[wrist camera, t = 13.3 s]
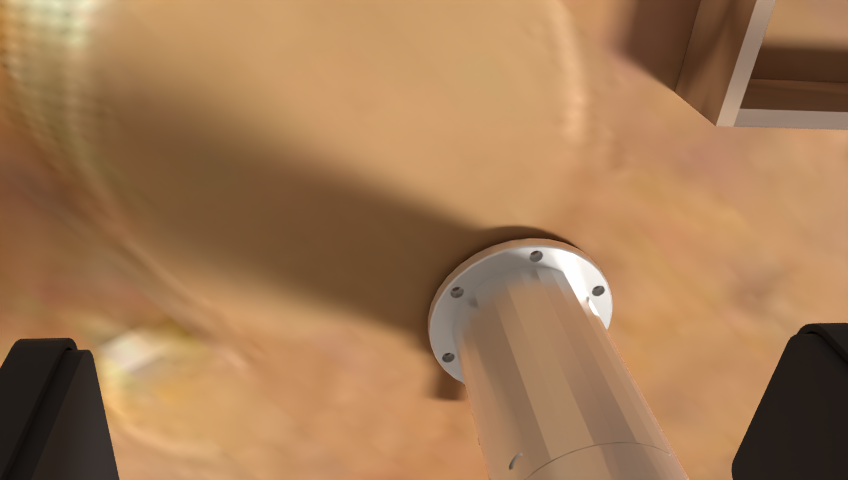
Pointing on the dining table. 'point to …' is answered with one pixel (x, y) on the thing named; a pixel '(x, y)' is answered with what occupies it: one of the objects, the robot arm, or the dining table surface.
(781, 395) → the robot arm
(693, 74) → the brown wooden tray
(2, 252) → the dining table surface
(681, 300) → the dining table surface
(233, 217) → the dining table surface
